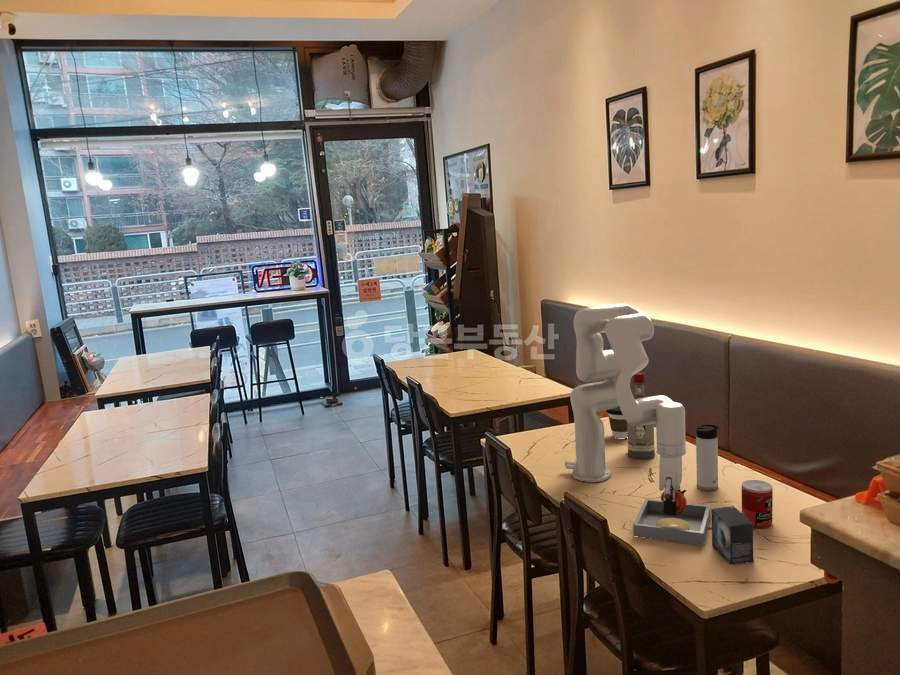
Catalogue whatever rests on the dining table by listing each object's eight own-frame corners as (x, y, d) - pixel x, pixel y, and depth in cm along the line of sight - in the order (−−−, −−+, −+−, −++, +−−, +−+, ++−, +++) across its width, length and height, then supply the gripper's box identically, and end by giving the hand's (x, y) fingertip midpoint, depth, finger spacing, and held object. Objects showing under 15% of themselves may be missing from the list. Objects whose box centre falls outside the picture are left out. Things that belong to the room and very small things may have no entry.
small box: (709, 545, 182) (709, 507, 180) (734, 542, 182) (733, 505, 180) (729, 565, 171) (729, 525, 170) (754, 562, 172) (754, 522, 170)
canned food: (759, 531, 187) (759, 493, 185) (735, 521, 194) (735, 484, 192) (779, 524, 190) (779, 486, 189) (754, 514, 197) (754, 477, 196)
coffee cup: (608, 441, 267) (606, 411, 265) (606, 432, 277) (605, 403, 275) (637, 441, 265) (636, 410, 263) (634, 432, 275) (633, 402, 273)
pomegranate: (668, 527, 189) (698, 505, 188) (650, 507, 190) (680, 484, 188) (664, 518, 197) (693, 497, 195) (647, 498, 197) (675, 477, 195)
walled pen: (633, 536, 190) (633, 524, 189) (645, 509, 205) (645, 498, 205) (703, 545, 182) (703, 533, 181) (710, 517, 198) (710, 505, 197)
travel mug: (720, 491, 215) (720, 428, 211) (698, 491, 216) (697, 429, 212) (717, 483, 221) (716, 422, 217) (695, 483, 222) (694, 422, 218)
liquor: (628, 450, 256) (626, 370, 251) (654, 450, 253) (652, 370, 248) (628, 458, 247) (625, 376, 242) (654, 459, 245) (652, 376, 240)
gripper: (662, 436, 199) (663, 495, 202) (651, 457, 184) (653, 520, 187) (689, 438, 196) (690, 497, 199) (680, 459, 180) (682, 523, 183)
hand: (672, 508), depth 193 cm, fingers closed on pomegranate, 7 cm apart
